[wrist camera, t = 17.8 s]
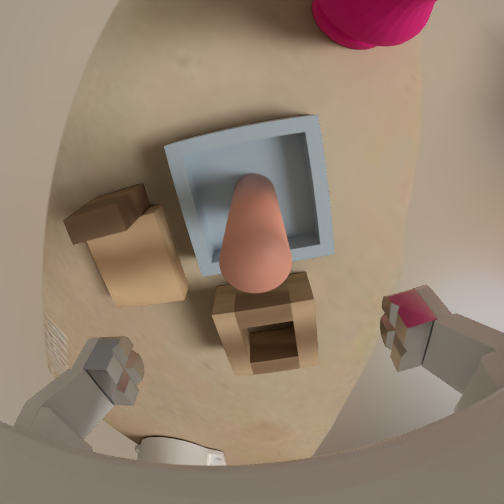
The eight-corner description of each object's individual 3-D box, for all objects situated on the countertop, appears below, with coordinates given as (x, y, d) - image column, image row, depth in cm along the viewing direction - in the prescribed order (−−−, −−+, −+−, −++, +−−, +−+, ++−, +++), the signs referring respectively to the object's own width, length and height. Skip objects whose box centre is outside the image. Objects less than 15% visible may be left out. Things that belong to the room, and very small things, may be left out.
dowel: (278, 208, 21) (296, 286, 12) (238, 216, 21) (228, 297, 13) (271, 170, 20) (286, 223, 11) (229, 178, 20) (210, 237, 11)
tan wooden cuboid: (189, 283, 26) (184, 300, 24) (126, 292, 27) (117, 307, 24) (163, 202, 22) (153, 212, 20) (95, 219, 23) (82, 231, 21)
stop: (150, 206, 22) (126, 230, 18) (101, 219, 23) (73, 244, 18) (142, 183, 21) (116, 203, 17) (94, 198, 22) (63, 220, 17)
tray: (325, 237, 23) (334, 254, 21) (207, 257, 24) (202, 276, 22) (309, 114, 19) (318, 114, 16) (175, 141, 20) (163, 146, 17)
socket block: (312, 336, 28) (318, 364, 25) (236, 347, 29) (235, 376, 26) (306, 271, 25) (313, 299, 21) (216, 286, 26) (211, 315, 22)
